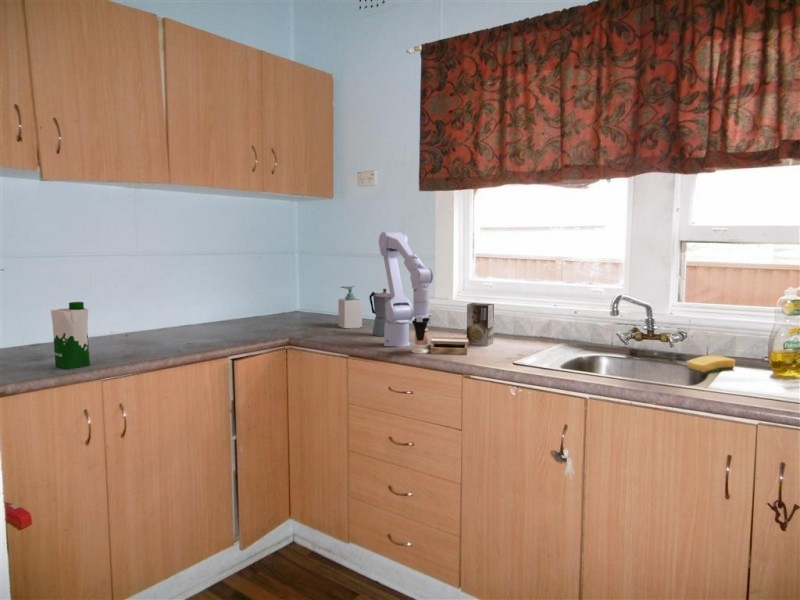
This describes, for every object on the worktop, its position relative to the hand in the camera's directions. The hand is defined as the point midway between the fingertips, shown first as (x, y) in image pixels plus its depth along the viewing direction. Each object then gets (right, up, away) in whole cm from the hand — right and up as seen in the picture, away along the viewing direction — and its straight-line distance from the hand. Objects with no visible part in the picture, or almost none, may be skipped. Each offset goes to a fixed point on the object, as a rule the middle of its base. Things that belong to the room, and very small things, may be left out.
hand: (420, 339), depth 197 cm
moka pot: (-15, -1, +36) cm, 39 cm away
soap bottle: (-31, +1, +57) cm, 65 cm away
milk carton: (-111, -7, -24) cm, 114 cm away
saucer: (0, -5, +1) cm, 5 cm away
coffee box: (+24, -4, +17) cm, 29 cm away
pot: (0, -2, 0) cm, 2 cm away
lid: (+11, -2, +8) cm, 14 cm away
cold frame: (+11, -5, +4) cm, 12 cm away
